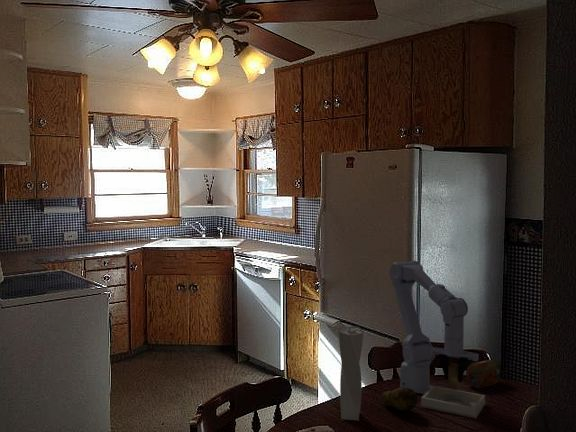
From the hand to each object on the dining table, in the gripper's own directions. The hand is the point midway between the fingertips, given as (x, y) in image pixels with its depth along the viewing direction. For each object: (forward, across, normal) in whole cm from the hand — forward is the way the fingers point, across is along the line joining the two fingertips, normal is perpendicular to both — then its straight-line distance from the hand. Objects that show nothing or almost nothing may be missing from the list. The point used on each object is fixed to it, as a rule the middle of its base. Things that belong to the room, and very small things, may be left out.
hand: (453, 380), depth 168 cm
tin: (+8, +4, +24) cm, 26 cm away
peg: (+2, 0, 0) cm, 2 cm away
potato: (+8, -13, -12) cm, 20 cm away
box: (+8, 0, 0) cm, 8 cm away
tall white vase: (+8, -24, -24) cm, 35 cm away
